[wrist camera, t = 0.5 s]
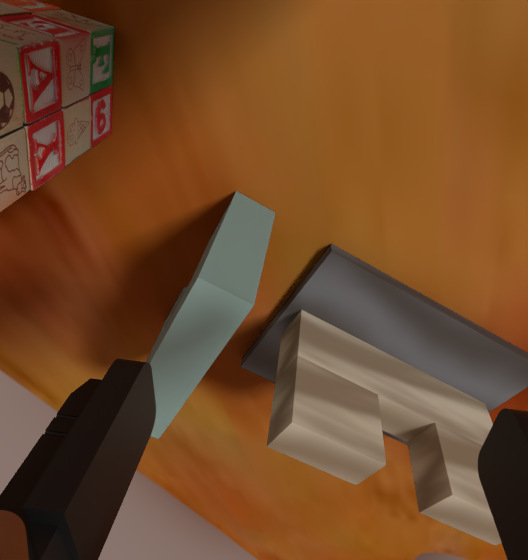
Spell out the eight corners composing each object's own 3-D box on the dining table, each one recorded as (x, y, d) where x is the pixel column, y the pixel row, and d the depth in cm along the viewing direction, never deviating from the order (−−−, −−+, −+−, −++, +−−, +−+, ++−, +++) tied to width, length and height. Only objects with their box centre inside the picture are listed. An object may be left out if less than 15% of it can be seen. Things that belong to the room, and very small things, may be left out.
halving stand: (331, 243, 29) (332, 359, 20) (544, 362, 33) (624, 504, 24) (242, 358, 37) (214, 477, 28) (422, 443, 41) (448, 572, 32)
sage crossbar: (236, 190, 28) (197, 277, 20) (275, 212, 28) (253, 305, 20) (165, 321, 36) (116, 421, 27) (196, 336, 36) (158, 439, 28)
